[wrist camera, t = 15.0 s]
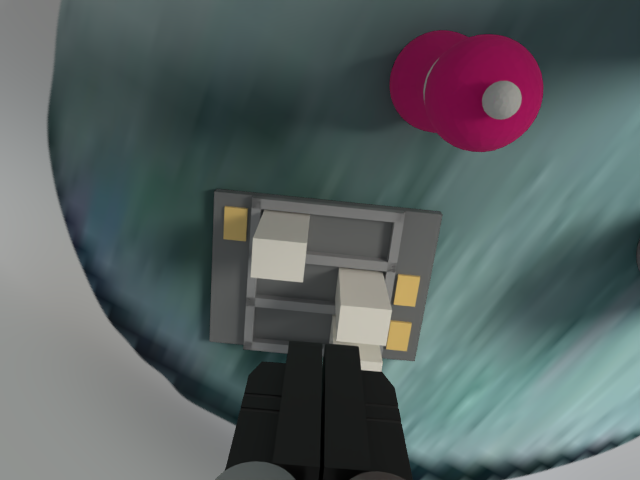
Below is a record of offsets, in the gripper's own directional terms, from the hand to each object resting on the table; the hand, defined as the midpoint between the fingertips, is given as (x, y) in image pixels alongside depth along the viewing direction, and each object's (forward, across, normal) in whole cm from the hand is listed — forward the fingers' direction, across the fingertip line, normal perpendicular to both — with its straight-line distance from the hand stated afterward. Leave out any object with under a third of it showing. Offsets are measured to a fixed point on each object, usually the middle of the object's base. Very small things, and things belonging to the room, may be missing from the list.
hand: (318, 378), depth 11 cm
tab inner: (+34, +3, +8) cm, 35 cm away
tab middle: (+34, -4, +13) cm, 37 cm away
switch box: (+35, -1, +13) cm, 37 cm away
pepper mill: (+35, -8, -5) cm, 36 cm away
